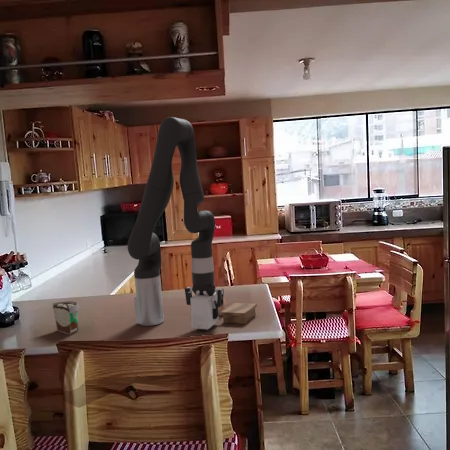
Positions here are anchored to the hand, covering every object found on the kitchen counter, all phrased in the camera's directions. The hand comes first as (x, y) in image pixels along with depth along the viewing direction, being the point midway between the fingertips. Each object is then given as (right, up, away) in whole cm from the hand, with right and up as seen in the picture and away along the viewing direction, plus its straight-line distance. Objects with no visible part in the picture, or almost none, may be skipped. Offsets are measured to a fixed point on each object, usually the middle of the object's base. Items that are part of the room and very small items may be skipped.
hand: (205, 317), depth 166 cm
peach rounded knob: (+4, -2, +16) cm, 17 cm away
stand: (+12, -2, +9) cm, 15 cm away
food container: (-49, -7, +9) cm, 50 cm away
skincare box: (0, -3, 0) cm, 3 cm away
